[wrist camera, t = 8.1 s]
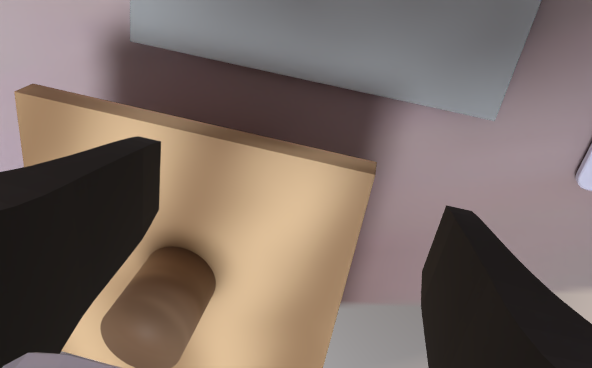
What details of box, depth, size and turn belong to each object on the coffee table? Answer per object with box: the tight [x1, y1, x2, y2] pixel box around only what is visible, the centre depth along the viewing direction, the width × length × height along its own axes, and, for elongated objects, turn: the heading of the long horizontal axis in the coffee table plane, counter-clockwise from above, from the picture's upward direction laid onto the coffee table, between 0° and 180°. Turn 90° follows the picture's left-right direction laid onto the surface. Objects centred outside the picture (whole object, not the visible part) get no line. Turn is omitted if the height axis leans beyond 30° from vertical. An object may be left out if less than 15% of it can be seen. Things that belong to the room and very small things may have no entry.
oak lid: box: [15, 84, 377, 368], centre depth 19 cm, size 13×13×4 cm
